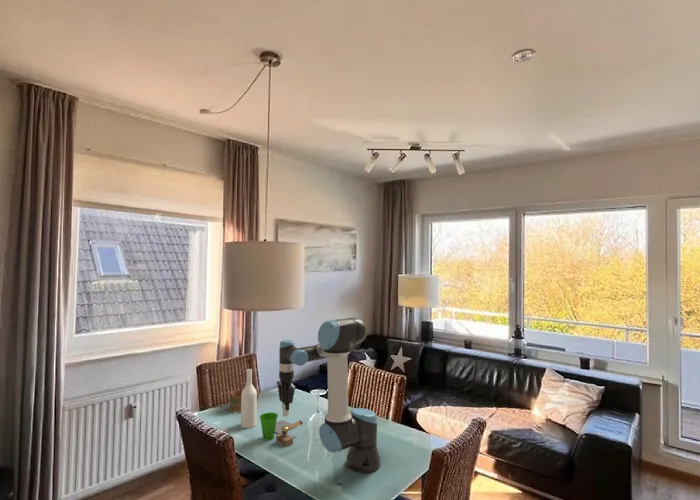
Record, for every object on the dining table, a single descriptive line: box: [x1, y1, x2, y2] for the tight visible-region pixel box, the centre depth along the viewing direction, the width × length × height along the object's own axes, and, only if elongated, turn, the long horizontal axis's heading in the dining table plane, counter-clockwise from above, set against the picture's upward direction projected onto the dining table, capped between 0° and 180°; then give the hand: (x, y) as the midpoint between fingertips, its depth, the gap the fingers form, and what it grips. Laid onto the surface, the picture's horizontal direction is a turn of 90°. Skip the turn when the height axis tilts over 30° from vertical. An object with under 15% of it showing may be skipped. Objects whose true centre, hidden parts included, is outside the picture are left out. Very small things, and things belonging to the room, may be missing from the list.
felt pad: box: [274, 419, 296, 435], centre depth 209 cm, size 12×12×1 cm
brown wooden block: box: [275, 432, 294, 448], centre depth 191 cm, size 8×4×5 cm, turn 49°
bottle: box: [240, 368, 258, 429], centre depth 211 cm, size 8×8×30 cm
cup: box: [259, 412, 279, 441], centre depth 196 cm, size 9×9×11 cm
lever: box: [282, 420, 304, 433], centre depth 197 cm, size 13×3×2 cm, turn 139°
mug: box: [228, 388, 260, 413], centre depth 233 cm, size 12×18×12 cm, turn 89°
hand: (285, 415), depth 203 cm, fingers closed
